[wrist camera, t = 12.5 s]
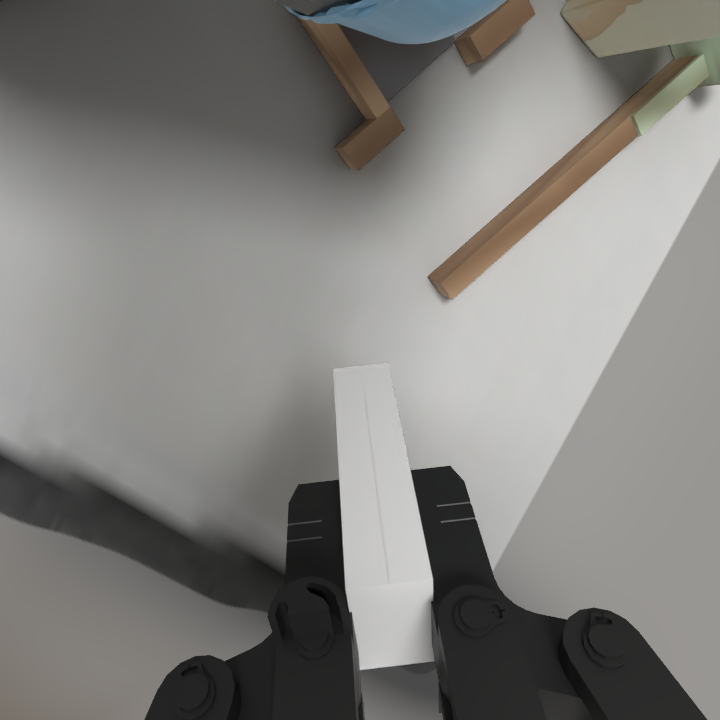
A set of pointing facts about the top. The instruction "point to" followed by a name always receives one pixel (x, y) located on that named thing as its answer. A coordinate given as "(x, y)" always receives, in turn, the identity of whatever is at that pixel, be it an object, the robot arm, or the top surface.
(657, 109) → the brown green flat frame
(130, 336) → the top surface
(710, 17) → the box
